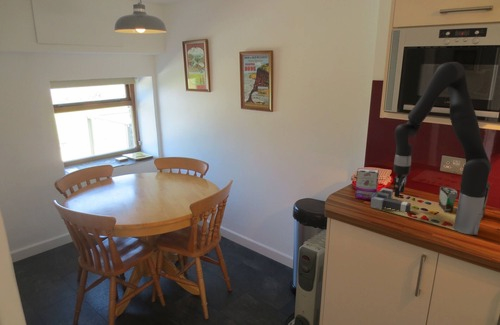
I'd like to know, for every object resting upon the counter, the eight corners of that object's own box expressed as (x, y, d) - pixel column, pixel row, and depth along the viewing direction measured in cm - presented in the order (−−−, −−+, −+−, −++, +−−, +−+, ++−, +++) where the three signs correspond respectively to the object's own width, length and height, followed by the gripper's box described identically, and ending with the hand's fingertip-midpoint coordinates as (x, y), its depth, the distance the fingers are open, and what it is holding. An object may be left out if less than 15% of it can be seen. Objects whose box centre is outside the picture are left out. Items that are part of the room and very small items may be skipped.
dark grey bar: (409, 210, 171) (410, 203, 170) (407, 213, 168) (408, 205, 167) (377, 203, 180) (378, 196, 179) (375, 205, 177) (376, 198, 176)
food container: (459, 214, 167) (462, 195, 164) (445, 213, 168) (448, 194, 165) (450, 204, 178) (453, 186, 175) (437, 203, 179) (440, 186, 177)
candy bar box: (376, 198, 187) (379, 169, 183) (375, 201, 183) (378, 172, 179) (355, 195, 192) (358, 167, 187) (354, 198, 187) (357, 170, 183)
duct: (391, 198, 187) (393, 188, 185) (381, 209, 172) (382, 198, 171) (381, 195, 190) (382, 186, 189) (369, 206, 176) (370, 196, 174)
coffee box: (481, 219, 161) (488, 188, 156) (466, 215, 165) (472, 185, 160) (484, 213, 167) (490, 183, 163) (469, 210, 171) (475, 180, 167)
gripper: (406, 168, 159) (403, 200, 163) (414, 161, 170) (410, 192, 174) (390, 165, 163) (387, 197, 167) (398, 159, 174) (395, 189, 178)
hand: (399, 194), depth 171 cm, fingers open, 8 cm apart
